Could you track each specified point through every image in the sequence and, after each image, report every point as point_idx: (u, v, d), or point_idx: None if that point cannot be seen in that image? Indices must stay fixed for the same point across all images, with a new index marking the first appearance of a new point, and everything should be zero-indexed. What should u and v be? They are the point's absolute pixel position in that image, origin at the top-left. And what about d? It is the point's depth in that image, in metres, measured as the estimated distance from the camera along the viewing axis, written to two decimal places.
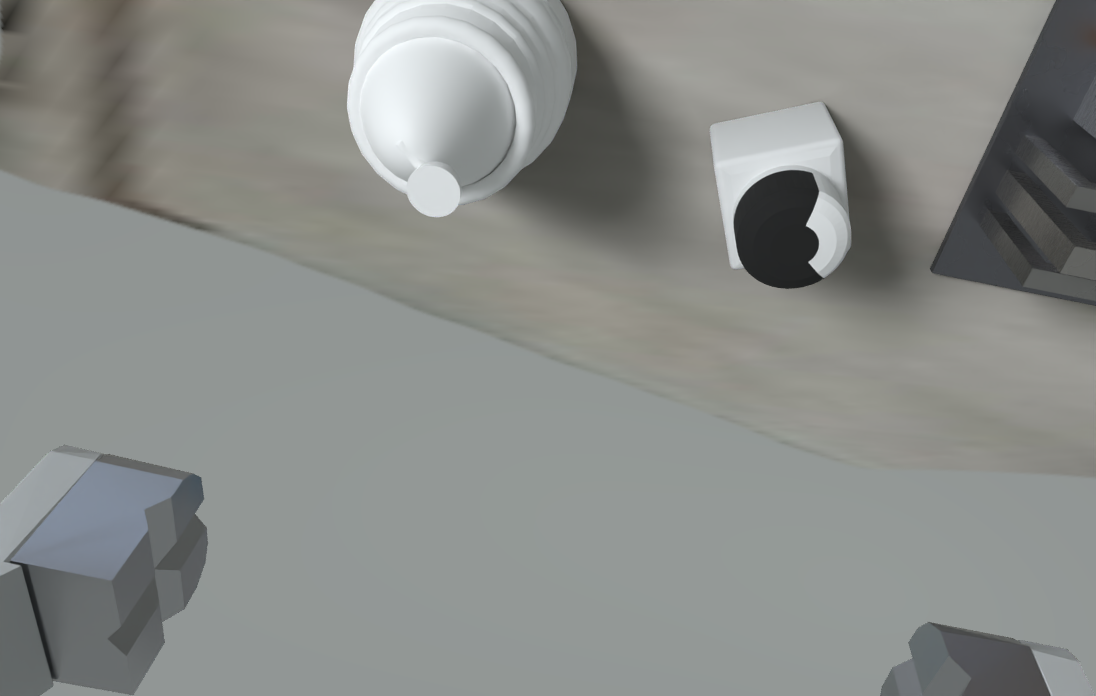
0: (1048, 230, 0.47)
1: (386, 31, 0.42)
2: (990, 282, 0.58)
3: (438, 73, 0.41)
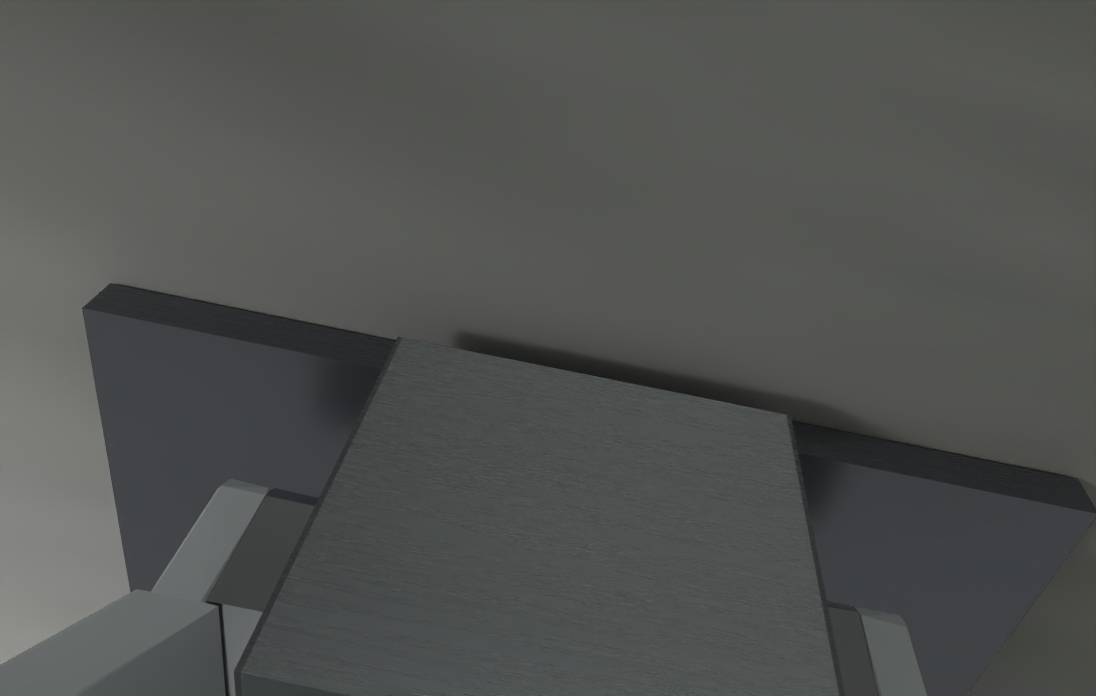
0: None
1: None
2: None
3: None
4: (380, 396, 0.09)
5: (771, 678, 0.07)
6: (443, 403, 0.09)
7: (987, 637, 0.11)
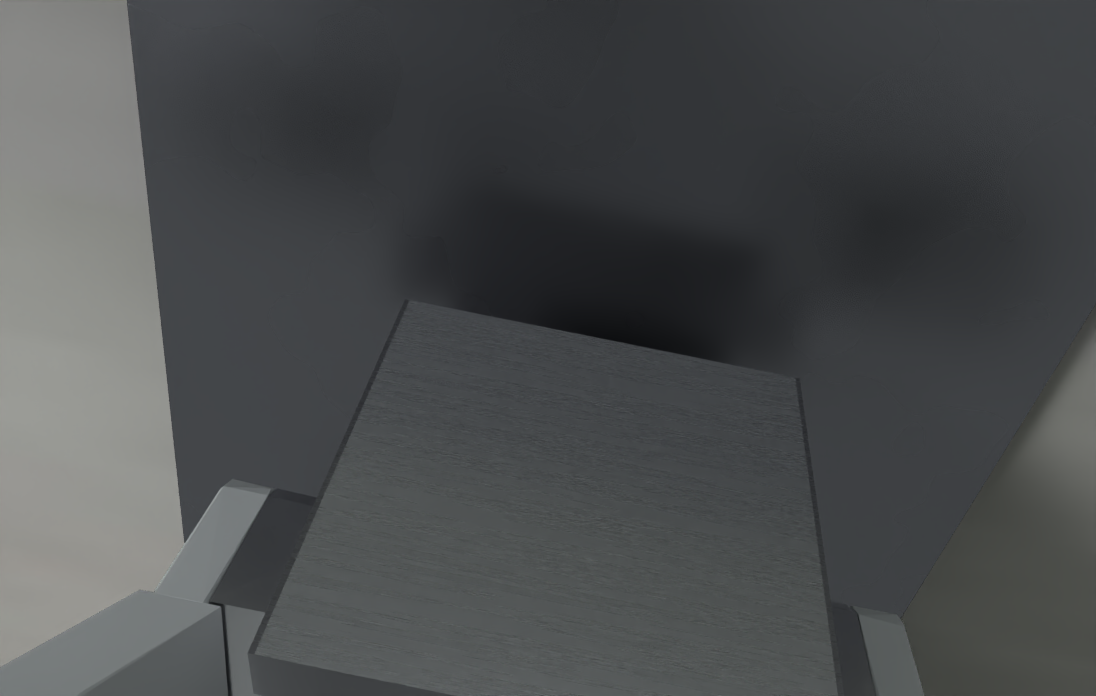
0: None
1: None
2: None
3: None
4: (387, 364, 0.09)
5: (769, 654, 0.07)
6: (450, 370, 0.09)
7: None
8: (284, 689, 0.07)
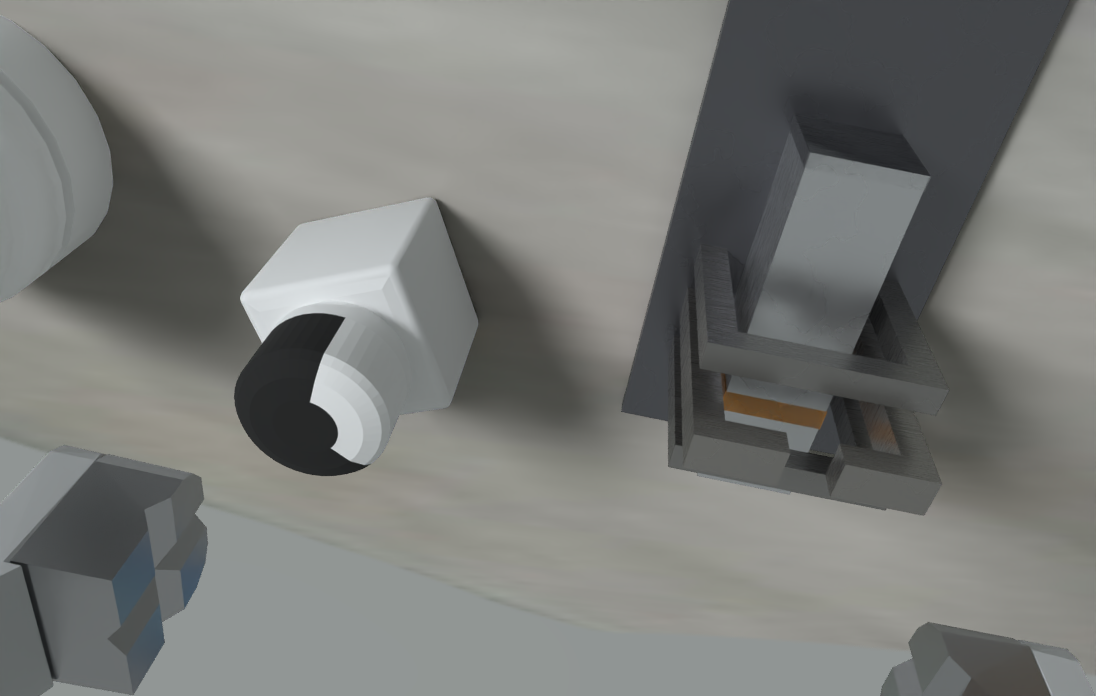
0: (688, 396, 0.33)
1: None
2: None
3: None
4: (800, 122, 0.34)
5: (909, 164, 0.32)
6: (815, 125, 0.34)
7: None
8: (812, 164, 0.31)
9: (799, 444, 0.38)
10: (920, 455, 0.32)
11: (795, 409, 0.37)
